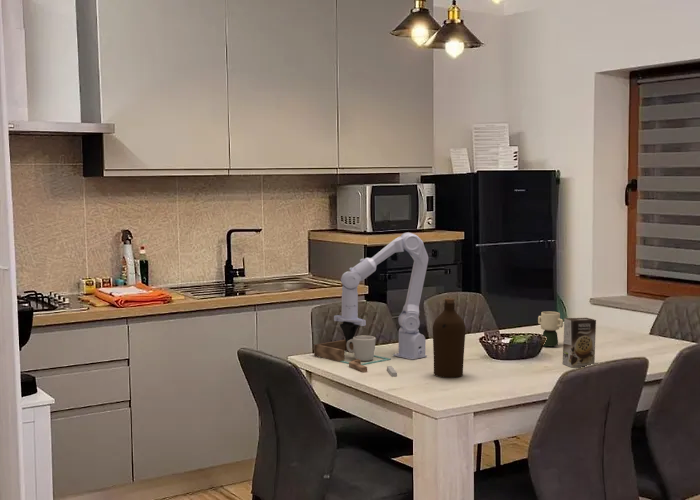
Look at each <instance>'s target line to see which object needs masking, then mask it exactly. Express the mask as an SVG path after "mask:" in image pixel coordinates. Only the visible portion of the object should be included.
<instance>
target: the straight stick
mask: <svg viewBox="0 0 700 500" xmlns="http://www.w3.org/2000/svg"><path fill="white" fill-rule="evenodd" d="M386 370H387V372H388V373H389V375H390V376H391V377H398V372H397V370H396V369H395V368H394V367H393V366H392V365H387V366H386Z"/></svg>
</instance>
